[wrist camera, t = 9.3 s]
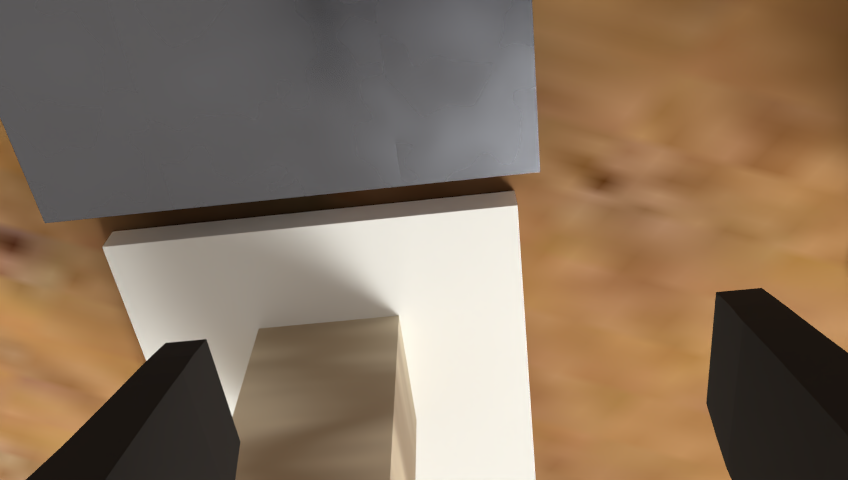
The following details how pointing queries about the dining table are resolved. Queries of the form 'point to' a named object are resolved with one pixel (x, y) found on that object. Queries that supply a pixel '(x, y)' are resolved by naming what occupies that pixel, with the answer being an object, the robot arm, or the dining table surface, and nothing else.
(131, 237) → the white tile
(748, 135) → the dining table surface
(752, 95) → the dining table surface
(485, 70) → the hole plate
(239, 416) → the birch peg
